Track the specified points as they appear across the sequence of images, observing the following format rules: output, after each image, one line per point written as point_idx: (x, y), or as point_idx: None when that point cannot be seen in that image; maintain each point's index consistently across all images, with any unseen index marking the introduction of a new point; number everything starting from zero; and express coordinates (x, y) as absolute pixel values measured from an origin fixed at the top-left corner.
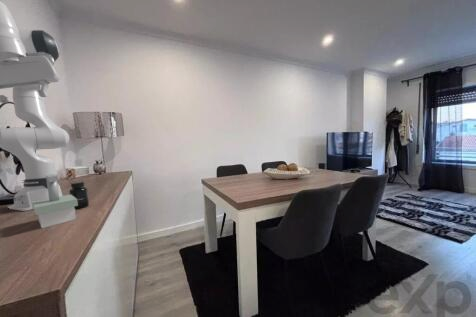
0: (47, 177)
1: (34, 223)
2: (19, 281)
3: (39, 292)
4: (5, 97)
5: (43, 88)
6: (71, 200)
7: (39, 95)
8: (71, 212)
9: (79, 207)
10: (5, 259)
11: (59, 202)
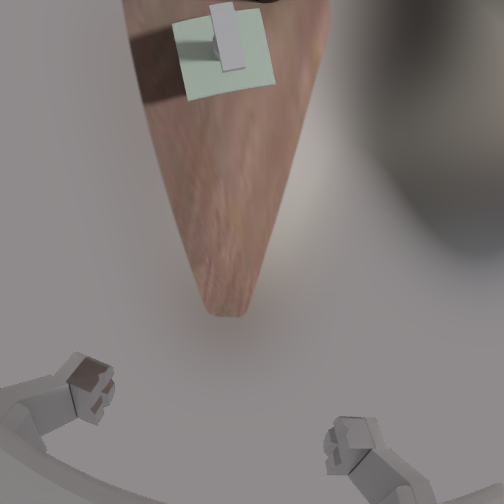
0: (218, 47)
1: None
2: (209, 287)
3: (231, 316)
4: (96, 399)
5: (368, 480)
6: (262, 85)
7: (324, 440)
8: None
9: (265, 2)
10: (174, 216)
11: (236, 87)
